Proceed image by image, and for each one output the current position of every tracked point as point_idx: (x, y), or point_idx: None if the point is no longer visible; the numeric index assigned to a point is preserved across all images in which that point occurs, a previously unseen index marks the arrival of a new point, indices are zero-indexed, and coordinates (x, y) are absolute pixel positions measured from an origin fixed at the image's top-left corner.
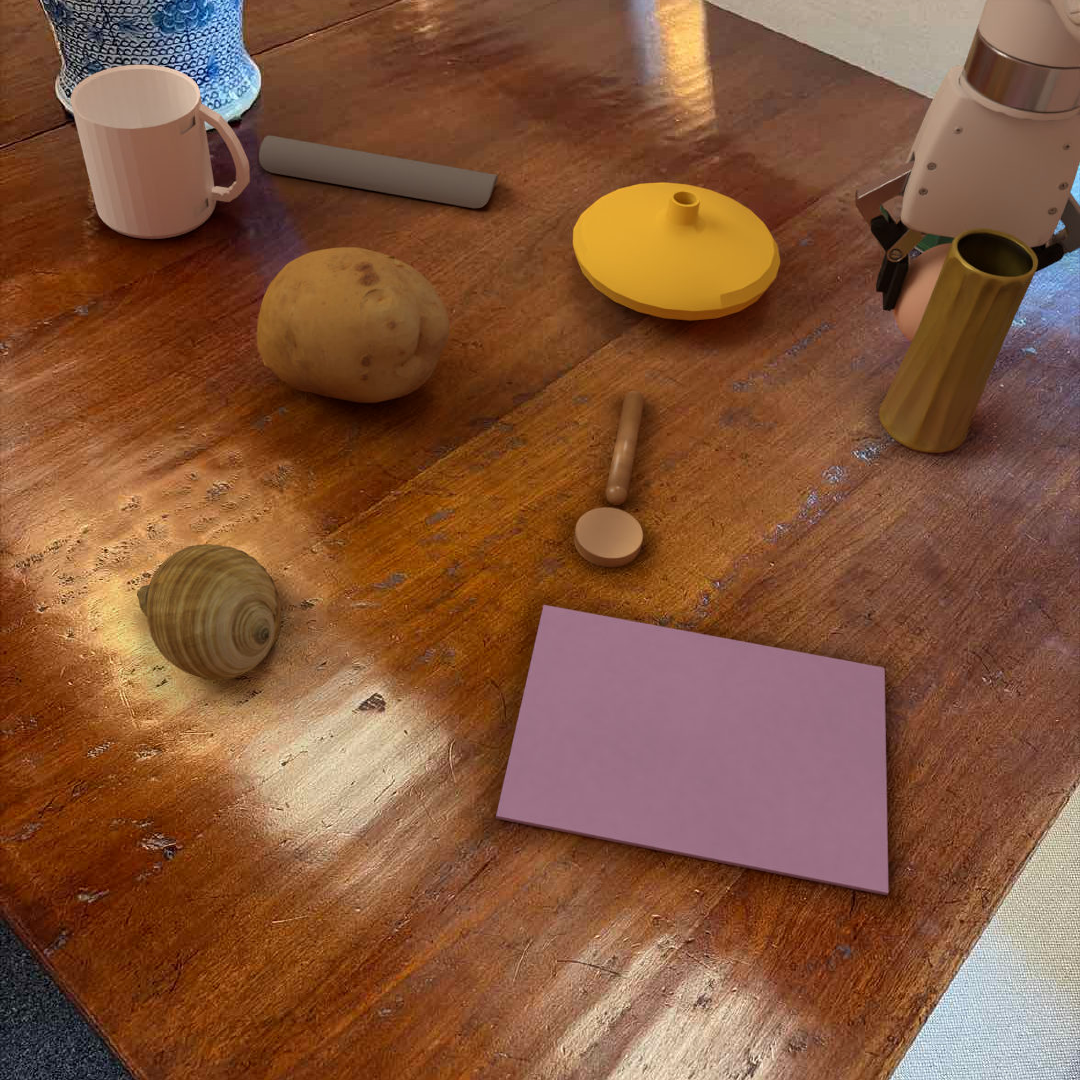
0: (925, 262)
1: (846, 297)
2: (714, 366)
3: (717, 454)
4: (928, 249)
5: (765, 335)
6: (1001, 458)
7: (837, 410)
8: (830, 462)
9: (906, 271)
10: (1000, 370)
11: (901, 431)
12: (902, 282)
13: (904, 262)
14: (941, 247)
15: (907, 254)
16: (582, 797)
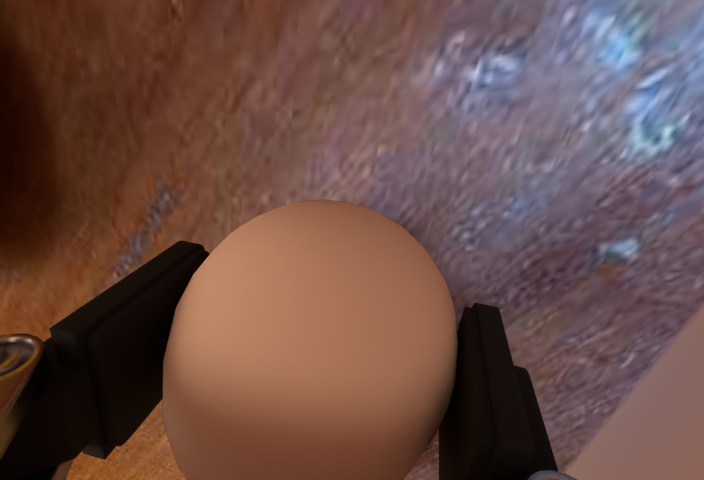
0: (167, 435)
1: (199, 86)
2: (26, 303)
3: None
4: (182, 354)
5: (72, 231)
6: (433, 474)
7: None
8: None
9: (127, 436)
10: (511, 310)
11: None
12: (155, 402)
13: (96, 442)
14: (187, 444)
15: (79, 451)
16: None
